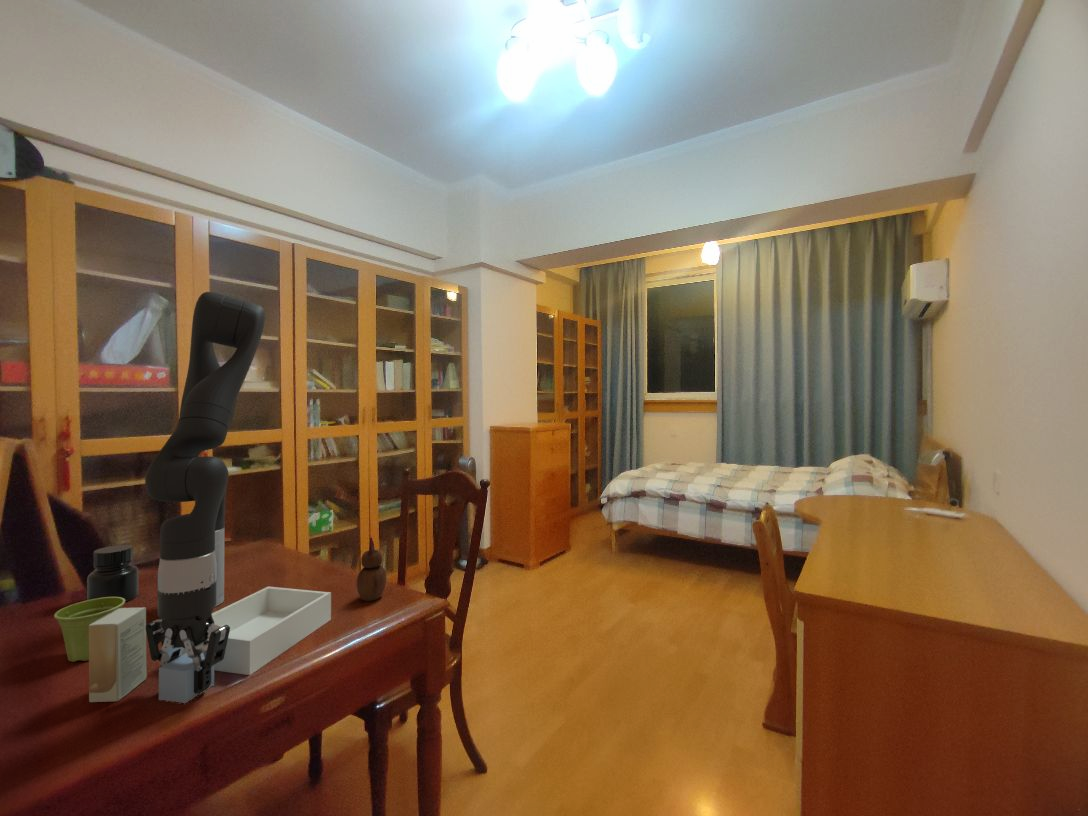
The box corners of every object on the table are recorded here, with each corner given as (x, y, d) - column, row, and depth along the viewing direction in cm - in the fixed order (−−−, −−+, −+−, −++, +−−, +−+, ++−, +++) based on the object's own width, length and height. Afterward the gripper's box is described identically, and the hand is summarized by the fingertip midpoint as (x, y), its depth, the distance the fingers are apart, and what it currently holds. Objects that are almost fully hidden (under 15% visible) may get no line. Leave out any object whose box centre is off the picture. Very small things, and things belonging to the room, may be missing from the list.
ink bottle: (128, 589, 117) (129, 541, 117) (148, 596, 113) (148, 546, 113) (76, 604, 108) (77, 551, 108) (95, 611, 105) (95, 557, 105)
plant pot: (63, 673, 81) (63, 622, 80) (47, 658, 86) (47, 609, 85) (133, 650, 88) (133, 603, 88) (114, 636, 93) (114, 592, 93)
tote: (173, 664, 84) (174, 631, 84) (267, 612, 105) (268, 586, 105) (249, 675, 81) (250, 641, 81) (330, 619, 102) (331, 592, 102)
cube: (158, 700, 74) (158, 667, 74) (188, 681, 79) (188, 651, 79) (185, 704, 73) (185, 671, 73) (214, 685, 78) (214, 654, 78)
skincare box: (119, 680, 79) (120, 606, 79) (147, 679, 79) (148, 605, 79) (85, 704, 72) (86, 624, 72) (116, 703, 73) (117, 623, 73)
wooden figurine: (374, 605, 109) (375, 540, 109) (352, 602, 110) (352, 538, 110) (390, 593, 116) (390, 532, 116) (368, 591, 117) (369, 531, 117)
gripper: (126, 587, 73) (126, 697, 73) (204, 594, 70) (203, 709, 70) (173, 570, 81) (172, 670, 81) (245, 577, 78) (245, 680, 78)
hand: (187, 688), depth 76 cm, fingers closed on cube, 5 cm apart
